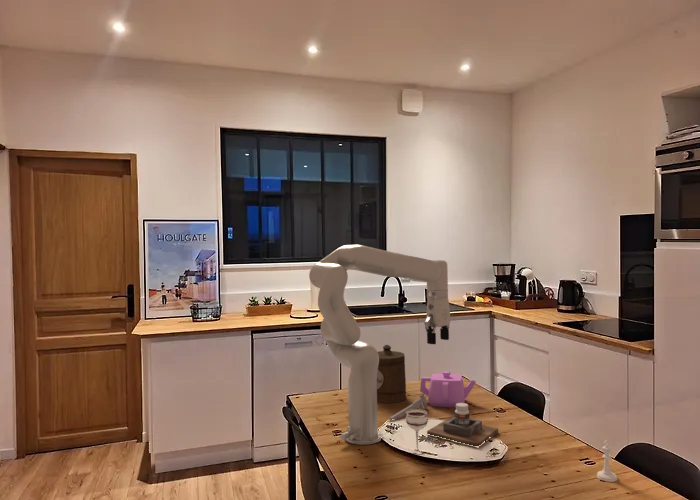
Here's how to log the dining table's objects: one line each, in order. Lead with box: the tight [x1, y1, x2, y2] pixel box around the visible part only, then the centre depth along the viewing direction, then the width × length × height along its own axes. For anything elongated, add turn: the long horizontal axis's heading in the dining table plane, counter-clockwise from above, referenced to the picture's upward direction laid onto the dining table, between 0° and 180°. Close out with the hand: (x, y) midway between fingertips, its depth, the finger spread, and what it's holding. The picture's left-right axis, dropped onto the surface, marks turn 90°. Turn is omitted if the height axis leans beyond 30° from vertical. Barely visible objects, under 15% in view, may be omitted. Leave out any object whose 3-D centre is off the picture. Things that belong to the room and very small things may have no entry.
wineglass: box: [405, 408, 429, 450], centre depth 155 cm, size 7×7×12 cm
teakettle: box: [419, 370, 477, 408], centre depth 202 cm, size 17×17×12 cm
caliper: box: [388, 393, 428, 420], centre depth 188 cm, size 20×1×6 cm, turn 131°
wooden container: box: [377, 344, 407, 404], centre depth 210 cm, size 15×15×22 cm
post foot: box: [426, 416, 499, 446], centre depth 168 cm, size 16×18×4 cm
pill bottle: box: [454, 402, 470, 427], centre depth 168 cm, size 5×5×8 cm
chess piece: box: [596, 439, 618, 483], centre depth 136 cm, size 5×5×10 cm
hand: (438, 341), depth 182 cm, fingers open, 9 cm apart
